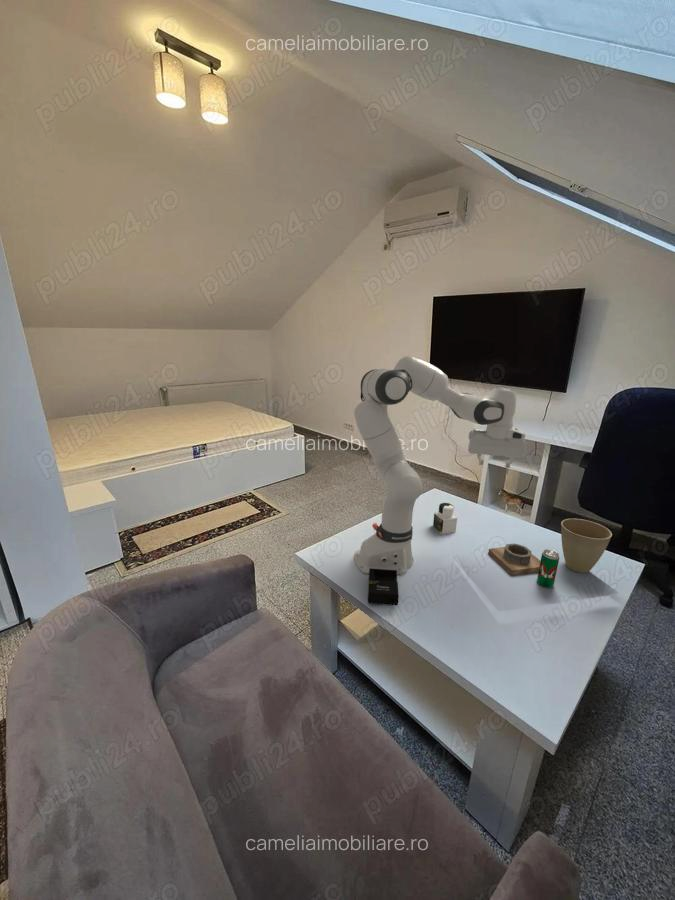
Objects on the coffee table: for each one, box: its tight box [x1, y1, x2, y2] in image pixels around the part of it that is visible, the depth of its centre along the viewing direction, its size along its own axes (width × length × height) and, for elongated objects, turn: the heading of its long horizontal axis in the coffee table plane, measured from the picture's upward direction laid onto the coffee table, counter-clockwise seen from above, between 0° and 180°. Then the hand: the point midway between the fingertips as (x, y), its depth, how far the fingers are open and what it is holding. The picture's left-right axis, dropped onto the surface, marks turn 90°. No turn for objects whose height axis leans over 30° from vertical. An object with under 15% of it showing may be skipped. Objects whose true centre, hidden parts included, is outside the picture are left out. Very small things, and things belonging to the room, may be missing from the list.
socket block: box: [487, 543, 541, 576], centre depth 134 cm, size 14×14×5 cm
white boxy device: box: [432, 502, 458, 535], centre depth 155 cm, size 7×7×12 cm
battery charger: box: [367, 568, 400, 607], centre depth 118 cm, size 13×10×4 cm
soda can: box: [536, 548, 560, 588], centre depth 121 cm, size 5×5×12 cm
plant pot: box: [560, 518, 613, 574], centre depth 129 cm, size 15×15×16 cm
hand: (494, 466), depth 138 cm, fingers open, 8 cm apart
